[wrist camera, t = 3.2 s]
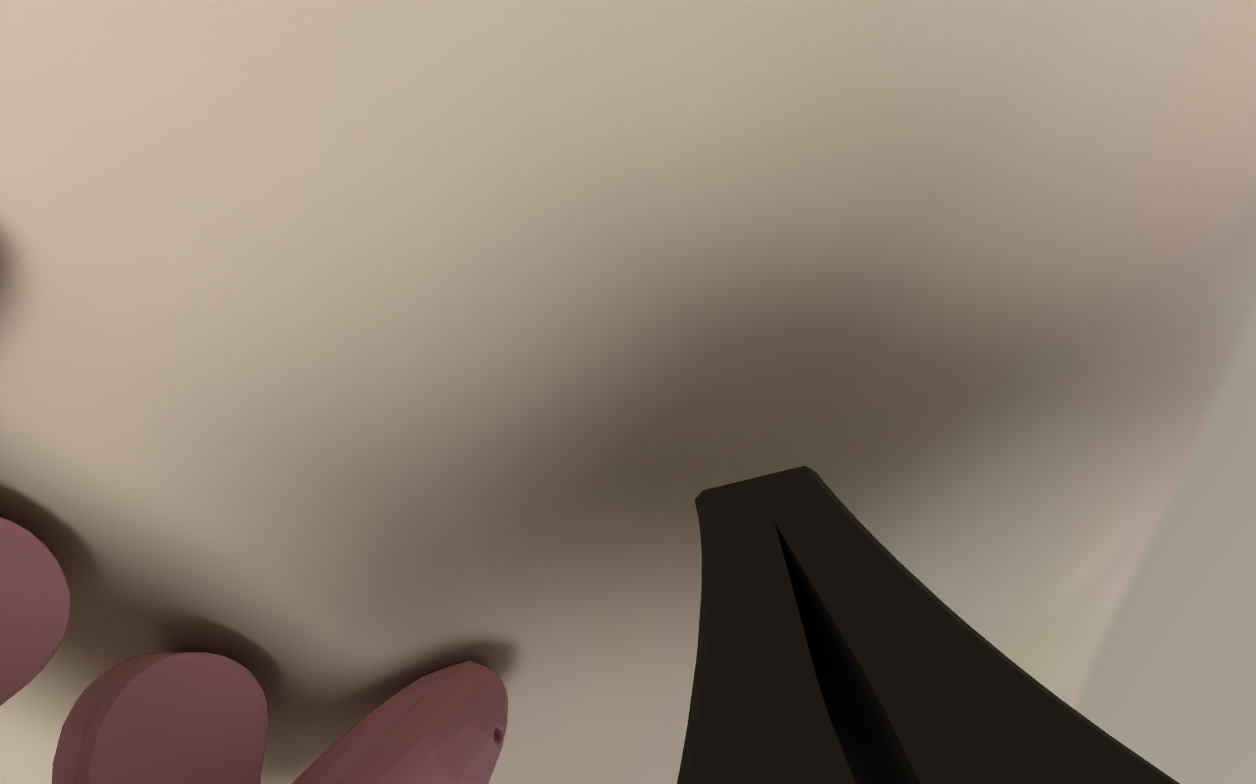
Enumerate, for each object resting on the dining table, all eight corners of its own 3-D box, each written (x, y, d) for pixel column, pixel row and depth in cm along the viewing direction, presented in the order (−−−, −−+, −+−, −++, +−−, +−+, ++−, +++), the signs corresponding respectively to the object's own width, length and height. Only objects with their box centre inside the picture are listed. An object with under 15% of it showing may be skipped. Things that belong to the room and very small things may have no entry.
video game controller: (-208, 295, 10) (-1187, 983, 5) (-89, 159, 7) (-1781, 1267, 3) (368, 687, 15) (110, 1203, 11) (556, 689, 12) (321, 1373, 8)
